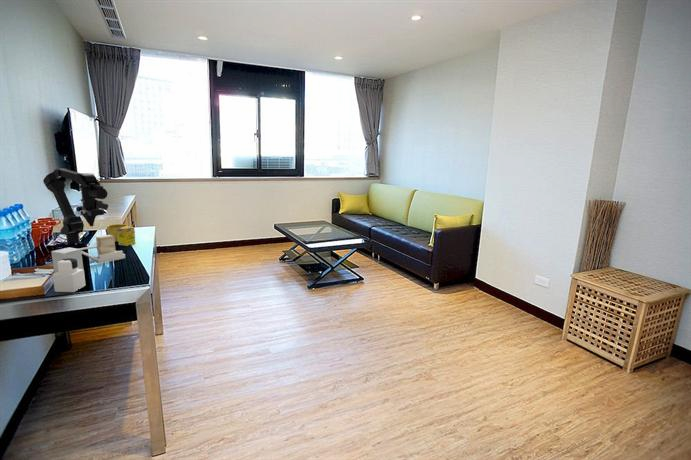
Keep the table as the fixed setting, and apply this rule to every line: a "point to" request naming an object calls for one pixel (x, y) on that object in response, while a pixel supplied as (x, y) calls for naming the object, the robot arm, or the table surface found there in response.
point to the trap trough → (105, 255)
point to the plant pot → (114, 230)
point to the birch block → (105, 244)
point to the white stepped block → (68, 276)
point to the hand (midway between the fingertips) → (91, 226)
